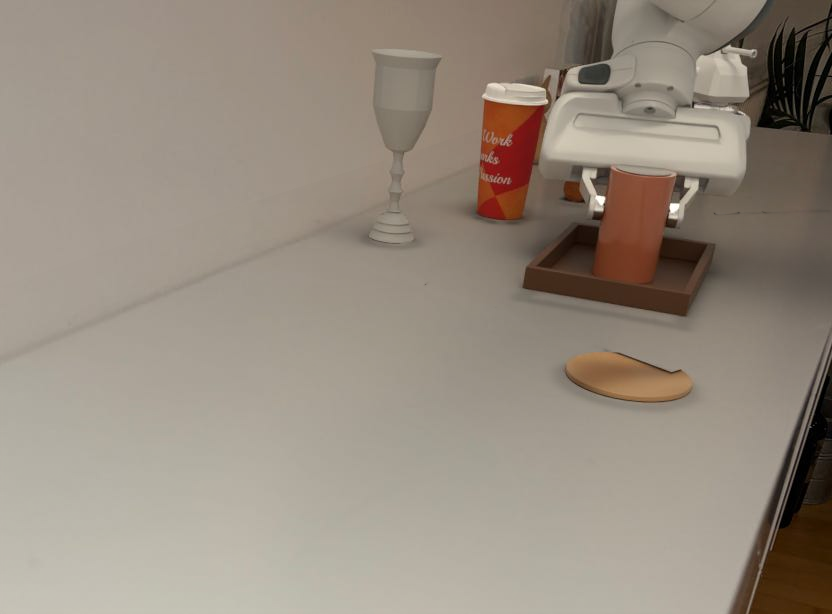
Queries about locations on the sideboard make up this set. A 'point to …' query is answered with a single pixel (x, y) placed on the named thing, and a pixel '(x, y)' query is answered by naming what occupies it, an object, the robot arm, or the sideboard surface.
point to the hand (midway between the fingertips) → (633, 221)
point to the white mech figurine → (722, 77)
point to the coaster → (626, 377)
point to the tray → (571, 276)
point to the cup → (633, 222)
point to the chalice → (401, 123)
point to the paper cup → (508, 147)
